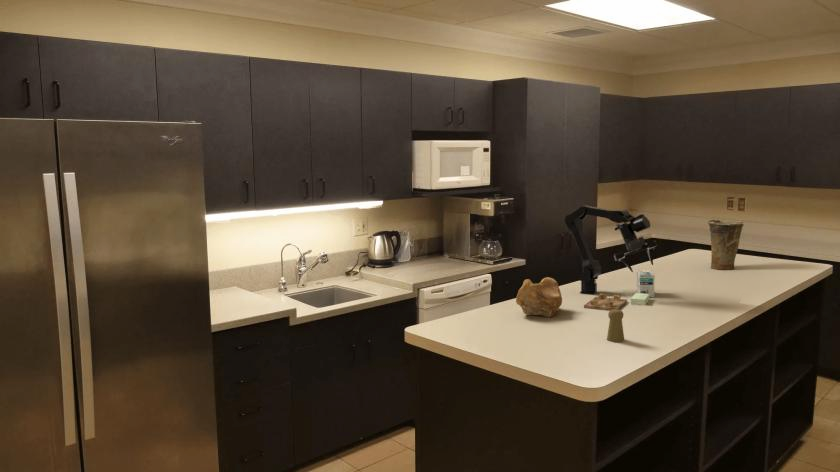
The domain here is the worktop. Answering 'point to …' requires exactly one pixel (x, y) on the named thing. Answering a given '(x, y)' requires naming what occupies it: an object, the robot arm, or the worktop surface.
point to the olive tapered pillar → (615, 326)
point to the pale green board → (640, 299)
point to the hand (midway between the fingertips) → (642, 268)
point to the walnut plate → (606, 302)
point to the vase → (724, 243)
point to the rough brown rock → (540, 297)
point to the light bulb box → (645, 282)
